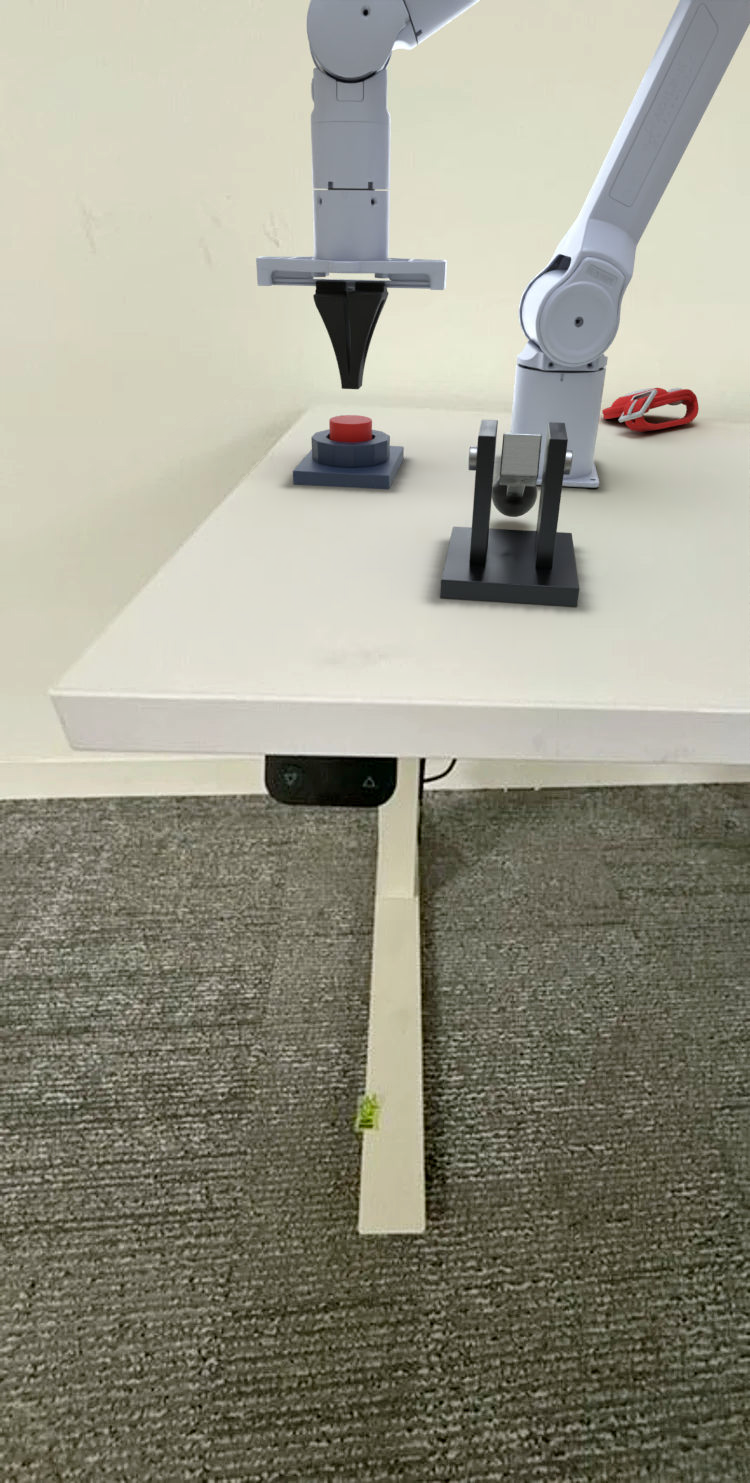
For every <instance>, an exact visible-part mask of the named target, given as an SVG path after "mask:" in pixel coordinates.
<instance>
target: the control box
mask: <svg viewBox="0 0 750 1483" xmlns="http://www.w3.org/2000/svg"><path fill="white" fill-rule="evenodd" d="M310 438H311V449H310V451H309V452H308V453H306V455H305V456H304V457H303V459H302V460H301V461H300V462H299V463H298V464H297V465H296V467H295V468H294V469H293V471H292V485H293V486H312V487H313V486H314V487H330V488H331V487H333V488H354V489H372V490H390V488H391V487H392V484H393V482H394V480H395V478H396V476H397V473H398V471H399V469H400V467H401V465H402V464H403V461H404V453H405V452H404V451H405V450H404V449H405V448H404V446H400V445H391V435H389V434H387V433H386V432H384V431H382V430H377V429H372V440H369V441H364V442H338V441H333V440H330V428H329V429H325V430H320V431H316V432H315V433H314V434H313V435H312V436H311V437H310Z"/></svg>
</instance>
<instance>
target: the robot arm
mask: <svg viewBox="0 0 750 1483" xmlns="http://www.w3.org/2000/svg"><path fill="white" fill-rule="evenodd" d="M480 1H481V0H310V2H309V4H308V9H307V13H306V34H307V40H308V46H309V52H310V56H311V58H312V61H313V64H314V66H315V67H314V68H313V71H312V74H313V77H312V78H311V83H310V93H311V99H312V103H313V109H312V111H311V113H310V144H311V145H310V146H311V147H310V148H311V177H312V178H311V189H312V222H313V224H312V226H313V231H312V232H313V256H266V255H265V256H258V257H256V258H255V261H256V262H255V264H256V280H257V286H258V287H272V286H290V287H293V286H295V287H315V293H314V294H313V295H312V297H313V302H314V305H315V307H316V309H317V311H318V313H319V316H320V318H321V320H322V322H323V325H324V327H325V329H326V331H327V332H326V333H327V335H328V337H329V341H330V343H331V346H332V349H333V352H334V355H335V360H336V363H337V367H338V368H337V369H338V373H339V379H340V385H341V389H342V390H360V388H361V387H362V386H363V379H364V372H365V365H366V360H367V357H368V352H369V350H370V345H371V342H372V339H373V336H374V331H375V329H376V327H377V324H378V322H379V319H380V316H381V314H382V311H383V309H384V306H385V304H386V302H387V299H388V296H389V291H388V289H416V290H417V289H422V290H423V289H425V290H426V289H427V290H431V291H432V290H433V291H444V290H446V288H447V274H448V273H447V272H448V271H447V270H448V260H447V259H425V258H424V259H422V258H399V257H390V214H391V213H390V212H391V210H390V209H391V208H390V207H391V204H390V203H391V191H390V189H391V138H392V137H391V132H392V116H391V113H390V112H389V110H388V73H389V72H388V69H387V68H388V66H389V64H390V61H391V57H392V54H393V51H396V50H398V49H403V50H408V51H409V50H413V49H414V48H416V47H417V45H418V46H419V45H420V44H421V43H423V42H424V41H426V39H428V38H430V37H431V36H432V35H434V34H435V33H437V32H438V31H439V30H441V29H442V28H444V27H445V26H447V25H448V24H449V23H451V22H452V21H453V20H455V19H456V18H458V17H459V16H461V15H462V14H463V13H465V12H466V11H467V10H469V9H470V8H471V7H473V6H475V5H476V4H477V3H479V2H480ZM749 27H750V0H679V1H678V3H677V5H676V7H675V9H674V12H673V14H672V16H671V17H670V20H669V22H668V25H667V27H666V28H665V30H664V33H663V35H662V37H661V39H660V41H659V43H658V46H657V47H656V50H655V52H654V53H653V56H652V58H651V60H650V63H649V65H648V67H647V69H646V72H645V73H644V75H643V77H642V80H641V82H640V84H639V85H638V88H637V90H636V92H635V94H634V97H633V98H632V100H631V103H630V104H629V108H628V110H627V112H626V113H625V116H624V118H623V120H622V121H621V124H620V126H619V129H618V131H617V133H616V134H615V136H614V139H613V141H612V143H611V145H610V147H609V150H608V152H607V154H606V156H605V158H604V160H603V163H602V164H601V166H600V169H599V171H598V172H597V176H596V177H595V179H594V182H593V184H592V186H591V188H590V190H589V192H588V194H587V196H586V198H585V200H584V203H583V205H582V206H581V209H580V211H579V213H578V216H577V217H576V219H575V221H574V222H573V224H572V225H571V226H570V227H569V229H568V230H567V232H566V233H565V235H564V236H563V237H562V239H561V240H560V241H559V243H558V244H557V246H556V249H555V251H554V252H553V255H552V257H551V259H550V260H549V262H548V264H546V266H545V267H544V268H543V269H542V270H541V271H539V273H537V275H535V276H534V277H533V278H532V279H531V280H530V281H529V283H527V285H526V287H524V290H523V292H522V294H521V297H520V300H519V306H518V320H519V321H518V322H519V326H520V328H521V331H522V333H523V335H524V336H525V338H526V339H527V342H526V343H525V345H524V348H523V349H522V350H521V352H519V353H518V354H517V355H516V364H515V374H514V386H513V397H512V409H511V419H510V432H509V433H515V434H539V435H542V439H541V450H540V461H539V473H538V478H537V482H536V486H541V483H542V474H543V465H544V455H545V446H546V437H547V428H548V422H557V423H565V427H566V433H567V438H568V443H567V450H572V451H573V458H572V467H571V473H570V475H564V476H563V484H562V487H571V488H572V487H573V488H599V487H600V479H599V474H598V470H597V468H596V463H595V460H594V458H595V450H596V444H597V438H598V437H597V436H598V430H599V422H600V416H601V408H602V402H603V401H602V400H603V395H604V387H605V381H606V380H605V379H606V371H607V365H608V359H609V357H608V356H607V355H605V353H606V352H607V350H608V349H609V348H610V347H611V345H612V344H613V342H614V340H615V338H616V336H617V333H618V330H619V327H620V322H621V310H622V303H623V298H624V295H625V293H626V291H627V288H628V286H629V284H630V283H631V281H632V278H633V275H634V271H635V261H636V253H637V247H638V244H639V242H640V241H641V238H642V237H643V234H644V232H645V231H646V229H647V227H648V225H649V223H650V221H651V219H652V217H653V215H654V213H655V212H656V209H657V207H658V205H659V203H660V201H661V199H662V197H663V195H664V194H665V191H666V190H667V187H668V185H669V184H670V182H671V179H672V178H673V176H674V173H675V171H676V170H677V167H678V166H679V165H680V162H681V160H682V158H683V156H684V154H685V152H686V150H687V148H688V147H689V144H690V142H691V141H692V138H693V136H694V135H695V133H696V131H697V129H698V127H699V124H700V123H701V120H702V119H703V116H704V115H705V113H706V111H707V109H708V107H709V105H710V103H711V101H712V100H713V97H714V95H715V93H716V91H717V89H718V87H719V85H720V83H721V81H722V79H723V77H724V76H725V73H726V71H727V69H728V68H729V66H730V64H731V62H732V61H733V59H734V55H735V54H736V52H737V50H738V48H739V46H740V44H741V42H742V40H743V39H744V36H745V34H746V32H747V30H748V28H749ZM330 274H374V278H375V279H362V278H361V279H359V278H358V279H357V278H356V279H355V278H327V276H328V277H329V276H330Z"/></svg>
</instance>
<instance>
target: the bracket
mask: <svg viewBox="0 0 750 1483" xmlns="http://www.w3.org/2000/svg"><path fill="white" fill-rule="evenodd" d="M498 424H499V421H498V420H497V419H481V420H480V426H479V431H478V435H477V445H470V446H469V453H468V464H467V465H468V468H467V469H468V471H473V472H475V475H474V490H473V504H472V516H471V517H472V520H471V527H470V526H452V529H451V533H450V538H449V543H448V547H447V552H446V556H445V560H444V565H443V568H442V574H441V577H440V590H439V598H440V599H446V600H457V601H458V600H461V601H474V602H475V601H477V602H490V603H491V602H492V603H505V604H521V605H523V604H524V605H535V606H536V605H537V606H551V607H552V606H553V607H568V608H578V603H579V596H580V582H579V575H578V567H577V560H576V554H575V546H574V538H573V533H572V532H563V531H558V530H557V529H558V526H559V524H558V523H559V516H560V508H561V500H562V491H563V486H562V484H563V476H564V475H570V473H571V467H572V458H573V451H572V450H567V443H568V438H567V433H566V427H565V423H557V422H548V428H547V437H546V446H545V455H544V465H543V474H542V483H541V485H540V492H539V500H538V501H539V503H538V511H537V520H536V529H535V530H525V529H524V530H523V529H509V528H507V529H505V528H490V524H491V510H492V502H493V501H492V488H493V485H494V477H495V476H494V474H495V461H496V451H497V450H496V448H497V437H498Z"/></svg>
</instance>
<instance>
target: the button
mask: <svg viewBox="0 0 750 1483" xmlns="http://www.w3.org/2000/svg"><path fill="white" fill-rule="evenodd" d="M328 422H329V429H330V440H333V441H338V442H364V441H369V440H372V430H373V420H372V418H371V417H368V416H364V415H356V414H355V415H354V414H345V415H344V414H343V415H336V416H333V417H330V418H329V420H328Z"/></svg>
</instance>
